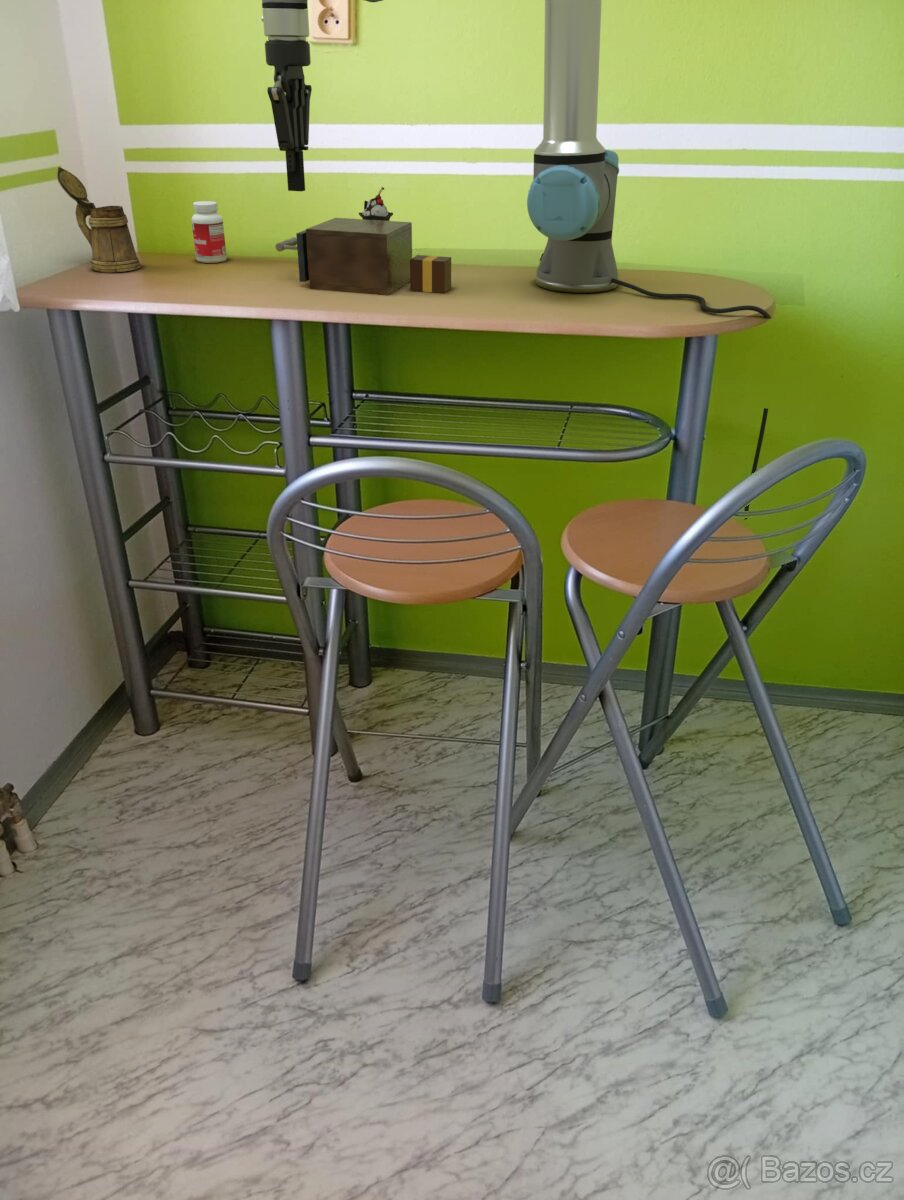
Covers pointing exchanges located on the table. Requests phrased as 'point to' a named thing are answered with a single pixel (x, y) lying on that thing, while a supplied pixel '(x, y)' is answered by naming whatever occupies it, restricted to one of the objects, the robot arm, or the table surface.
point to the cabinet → (359, 255)
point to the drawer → (302, 252)
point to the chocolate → (430, 273)
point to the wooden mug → (102, 229)
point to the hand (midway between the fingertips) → (296, 190)
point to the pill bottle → (208, 233)
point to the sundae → (375, 209)
